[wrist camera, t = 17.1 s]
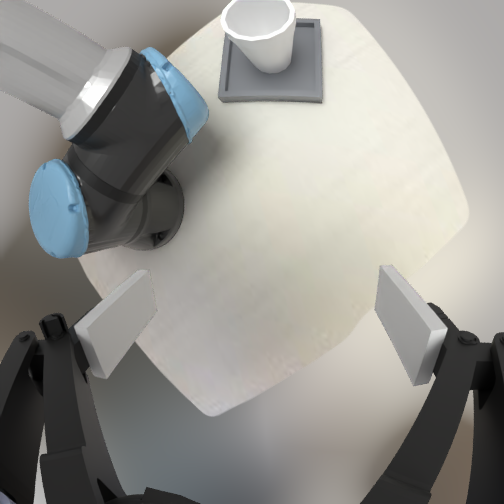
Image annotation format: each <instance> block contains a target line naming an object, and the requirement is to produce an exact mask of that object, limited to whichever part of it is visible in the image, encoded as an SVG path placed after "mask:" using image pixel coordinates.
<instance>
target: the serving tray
mask: <svg viewBox="0 0 504 504" xmlns="http://www.w3.org/2000/svg"><path fill="white" fill-rule="evenodd" d="M218 98H219V99H220V100H221V101H222V102H241V101H291V102H313V103H322V55H321V29H320V19H301V18H296V26H295V31H294V36H293V47H292V57H291V63H290V64H289V66H288V67H287V68H286V69H285V70H283V71H281V72H279V73H272V74H269V73H265V72H261V71H260V70H259V69H258V68H256V67H255V66H254V65H253V63H252V62H251V61H250V60H249V59H248V58H247V56H246V55H245V54H244V53H243V52H242V51H241V50H240V48H239V47H238V46H237V45H236V44H235V43H234V42H232V41H231V40H229V38H228V36H227V34H226V33H225V39H224V47H223V55H222V64H221V73H220V82H219V92H218Z"/></svg>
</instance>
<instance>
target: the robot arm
mask: <svg viewBox="0 0 504 504" xmlns="http://www.w3.org/2000/svg"><path fill="white" fill-rule="evenodd" d="M0 90H1V91H3V92H5V93H7V94H9V95H11V96H13V97H15V98H17V99H19V100H21V101H23V102H25V103H27V104H29V105H31V106H33V107H36V108H37V109H39V110H41V111H44V112H45V113H47V114H49V115H51V116H54V117H55V118H57V119H58V120H59V122H60V126H61V130H62V134H63V137H64V138H65V139H66V140H68V141H70V142H72V145H71V147H70V148H69V150H68V152H67V153H66V155H65V157H64V158H63V160H60V159H53V160H51V161H48V162H47V163H44V164H43V165H41V166H40V168H39V169H38V170H37V172H36V174H35V175H34V178H33V180H32V184H31V188H30V193H29V212H30V221H31V225H32V228H33V231H34V234H35V236H36V239H37V240H38V242H39V244H40V245H41V247H42V248H43V249H44V250H45V251H46V252H47V253H48V254H50V255H51V256H53V257H57V258H69V257H76V258H77V257H80V256H82V255H84V254H88V253H92V252H96V251H100V250H104V249H109V248H113V247H117V246H121V245H122V246H125V247H128V248H131V249H134V250H151V249H154V248H158V247H160V246H162V245H164V244H166V243H167V242H168V241H169V240H170V239H171V238H172V237H173V236H174V235H175V233H176V232H177V230H178V228H179V226H180V224H181V221H182V218H183V212H184V199H183V193H182V190H181V187H180V185H179V183H178V181H177V179H176V178H175V176H174V175H173V174H172V173H171V172H170V171H169V170H167V169H166V168H167V167H168V166H169V164H170V163H171V162H172V161H173V160H174V159H175V157H176V156H177V155H178V154H179V153H180V152H181V150H182V149H183V148H184V147H185V146H186V145H187V144H190V143H191V142H192V138H193V137H194V136H195V135H196V133H197V132H198V131H199V130H200V129H201V128H202V126H203V125H204V124H205V123H206V121H207V119H208V116H209V110H208V106H207V104H206V102H205V101H204V99H203V98H202V97H201V95H200V94H199V93H198V92H197V90H196V89H195V88H194V87H193V86H192V84H191V83H190V82H189V81H188V80H187V79H186V78H185V77H184V75H183V74H182V73H181V72H180V71H179V70H178V69H177V68H175V67H174V66H172V64H171V63H170V62H169V61H168V60H167V59H166V58H165V57H164V56H163V55H162V54H161V53H160V52H158V51H157V50H156V49H154V48H151V47H148V48H146V49H145V50H142V51H141V52H140V54H138V53H137V52H135V51H134V50H133V49H131V48H130V47H128V46H125V47H120V48H114V49H105V48H104V47H102V46H101V45H99V44H98V43H96V42H95V41H93V40H92V39H90V38H89V37H87V36H85V35H84V34H82V33H81V32H79V31H77V30H76V29H74V28H73V27H71V26H69V25H67V24H66V23H64V22H63V21H61V20H59V19H57V18H56V17H54V16H52V15H50V14H49V13H47V12H45V11H43V10H41V9H39V8H38V7H36V6H34V5H32V4H30V3H28V2H27V1H25V0H0ZM157 311H158V310H157V305H156V301H155V296H154V291H153V286H152V281H151V275H150V270H137V271H136V272H135V273H134V274H133V275H131V276H130V277H129V278H128V279H127V280H125V281H124V282H123V283H122V284H121V285H120V286H118V287H117V288H116V289H115V290H114V291H113V292H112V293H110V294H109V295H108V296H107V297H106V298H105V299H104V300H102V301H101V302H100V303H99V304H98V305H97V306H96V307H94V308H92V309H90V310H89V311H88V312H87V313H86V314H85V315H84V316H82V317H81V319H79V320H78V321H77V322H76V323H75V324H74V325H72V326H71V327H70V328H69V329H68V327H67V324H66V321H65V319H64V316H63V315H62V314H61V313H54V314H50V315H47V316H46V317H44V318H43V319H42V320H40V322H39V325H40V327H41V330H42V332H43V334H44V337H45V340H37V337H36V335H35V333H34V332H33V331H23V332H21V333H19V335H17V336H16V337H15V339H14V340H13V342H12V343H11V345H10V347H9V349H8V351H7V352H6V354H5V356H4V358H3V360H2V362H1V364H0V504H33V502H34V494H35V481H36V472H37V463H38V456H39V449H40V442H41V437H42V432H43V426H44V423H45V436H46V445H47V454H42V455H41V456H40V469H41V476H42V482H43V488H44V493H45V498H46V503H47V504H200V503H198V502H195V501H192V500H190V499H188V498H186V497H183V496H181V495H177V494H173V493H168V492H164V491H160V490H156V489H152V488H148V487H146V490H145V492H144V494H136V495H128V496H127V495H126V494H125V492H124V491H123V489H122V487H121V485H120V482H119V480H118V477H117V475H116V472H115V469H114V467H113V464H112V461H111V458H110V455H109V453H108V450H107V447H106V443H105V440H104V437H103V434H102V430H101V427H100V424H99V420H98V416H97V413H96V409H95V405H94V401H93V397H92V392H91V388H90V383H89V378H88V375H87V374H86V370H87V369H88V367H89V366H90V368H91V371H92V373H93V375H94V376H96V377H100V378H104V379H107V378H108V377H109V375H110V374H111V372H112V371H113V370H114V368H115V367H116V366H117V364H118V363H119V361H120V360H121V359H122V357H123V356H124V355H125V353H126V352H127V351H128V349H129V348H130V347H131V345H132V344H133V343H134V341H135V340H136V339H137V337H138V336H139V335H140V333H141V332H142V331H143V329H144V328H145V327H146V325H147V324H148V323H149V321H150V320H151V319H152V318H153V316H154V315H155V314H156V312H157ZM375 311H376V313H377V315H378V317H379V319H380V320H381V322H382V324H383V326H384V328H385V330H386V332H387V334H388V336H389V337H390V340H391V341H392V343H393V345H394V347H395V349H396V351H397V353H398V355H399V357H400V359H401V361H402V363H403V366H404V367H405V370H406V372H407V374H408V376H409V378H410V380H411V382H412V384H413V386H417V385H422V384H427V383H429V381H430V379H431V376H432V373H434V375H435V376H436V379H435V381H434V384H433V386H432V388H431V390H430V392H429V395H428V397H427V399H426V401H425V403H424V405H423V407H422V409H421V411H420V413H419V415H418V417H417V419H416V421H415V422H414V425H413V426H412V428H411V430H410V432H409V433H408V435H407V437H406V438H405V440H404V442H403V444H402V445H401V447H400V449H399V450H398V452H397V453H396V455H395V457H394V458H393V460H392V461H391V463H390V464H389V466H388V467H387V469H386V470H385V472H384V473H383V475H381V477H380V478H379V480H378V481H377V482H376V484H375V485H374V486H373V488H372V489H371V490H370V492H369V493H368V494H367V495H366V497H365V498H364V500H363V501H362V502H361V503H360V504H428V502H429V500H430V498H431V493H430V490H431V488H432V486H433V484H434V482H435V480H436V478H437V476H438V474H439V472H440V470H441V467H442V465H443V463H444V461H445V459H446V456H447V454H448V451H449V449H450V447H451V444H452V442H453V439H454V436H455V434H456V431H457V429H458V426H459V423H460V420H461V417H462V414H463V411H464V407H465V404H466V401H467V397H468V394H469V390H473V397H474V438H473V455H472V465H471V474H470V482H469V489H468V495H467V500H466V504H504V332H501V333H497V334H496V335H495V336H494V339H493V342H492V343H480V341H479V339H478V337H477V336H476V335H474V334H473V333H470V332H468V331H459V330H458V328H457V327H456V326H455V325H454V324H453V322H452V321H451V320H450V319H448V317H447V316H446V315H445V314H444V312H443V311H442V310H441V309H440V308H439V307H438V306H436V305H434V304H433V303H426V302H425V301H424V300H423V298H422V297H421V296H420V295H419V294H418V293H417V292H416V290H415V289H414V288H413V287H412V286H411V285H410V284H409V283H408V282H407V280H406V279H405V278H404V277H403V276H402V275H401V274H400V273H399V272H398V271H397V270H396V269H395V267H394V266H393V265H383V266H380V270H379V280H378V288H377V296H376V303H375Z"/></svg>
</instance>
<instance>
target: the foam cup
mask: <svg viewBox="0 0 504 504" xmlns="http://www.w3.org/2000/svg"><path fill="white" fill-rule="evenodd" d="M220 21H221V23H222V26H223V29H224V31H225V33H226V34H227V36H228V38H229V40H231V41H232V42H234V43H235V44H236V45H237V46H238V47H239V48H240V50H241V51H242V52H243V53H244V54H245V55H246V56H247V58H248V59H249V60H250V61H251V62H252V63H253V65H254V66H255V67H256V68H258V69H259V70H260V71H261V72H265V73H269V74H272V73H279V72H281V71H283V70H285V69H286V68H287V67H288V66H289V64H290V63H291V57H292V47H293V36H294V31H295V26H296V13H295V9H294V7H293V6H292V4H291V2H290V1H289V0H232V2H231V3H229V4H228V5H227V7H226V8H225V9H224V10H223V13H222V17H221V20H220Z"/></svg>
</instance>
